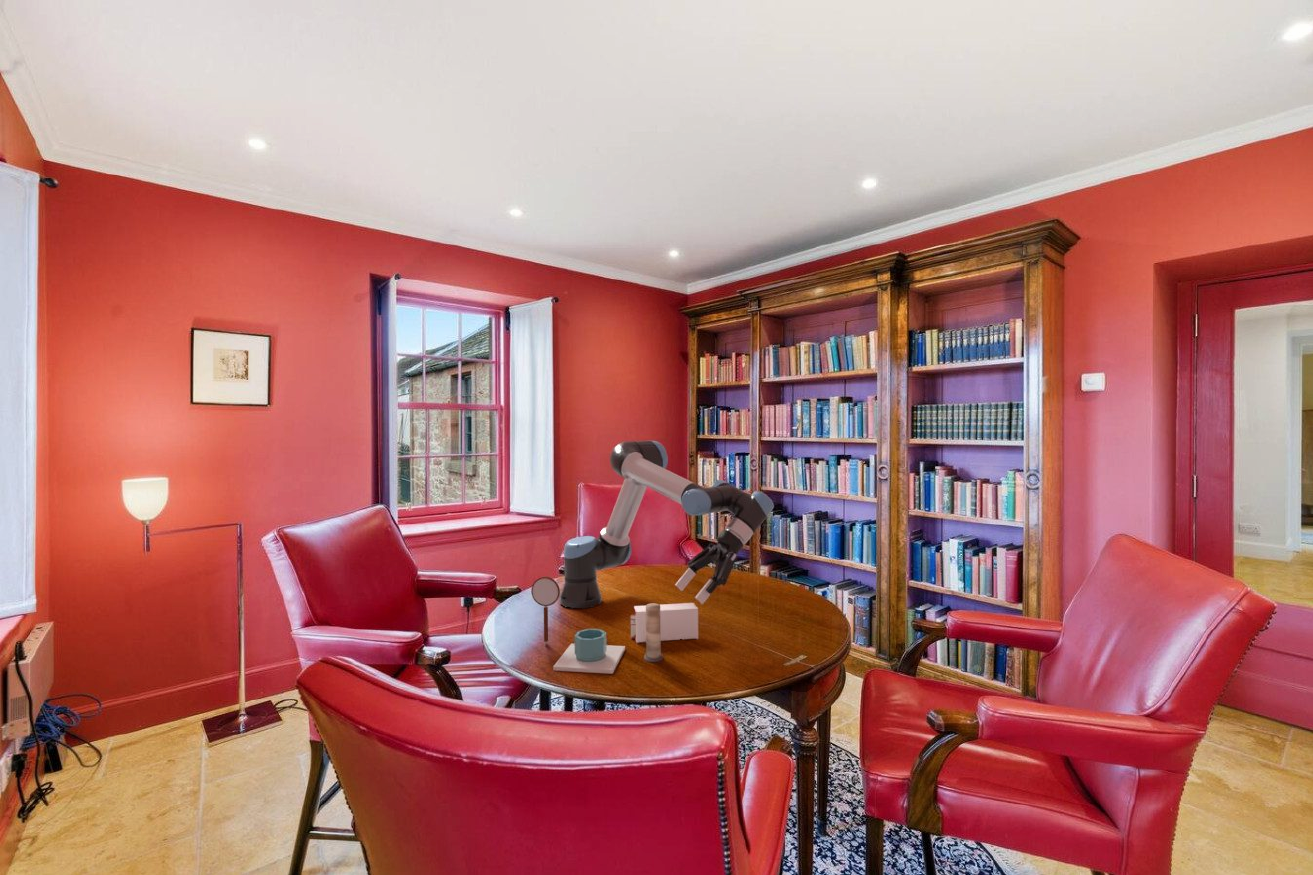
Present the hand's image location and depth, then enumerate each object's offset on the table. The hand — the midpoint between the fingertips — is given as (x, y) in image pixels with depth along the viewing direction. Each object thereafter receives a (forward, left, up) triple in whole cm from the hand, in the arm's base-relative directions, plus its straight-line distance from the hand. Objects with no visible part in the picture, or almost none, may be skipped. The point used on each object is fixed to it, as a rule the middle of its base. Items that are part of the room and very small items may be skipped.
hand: (688, 594), depth 157 cm
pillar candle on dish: (+5, -9, -16) cm, 20 cm away
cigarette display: (-10, -8, -17) cm, 21 cm away
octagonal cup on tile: (+8, -26, -16) cm, 32 cm away
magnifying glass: (-1, -42, -17) cm, 45 cm away
